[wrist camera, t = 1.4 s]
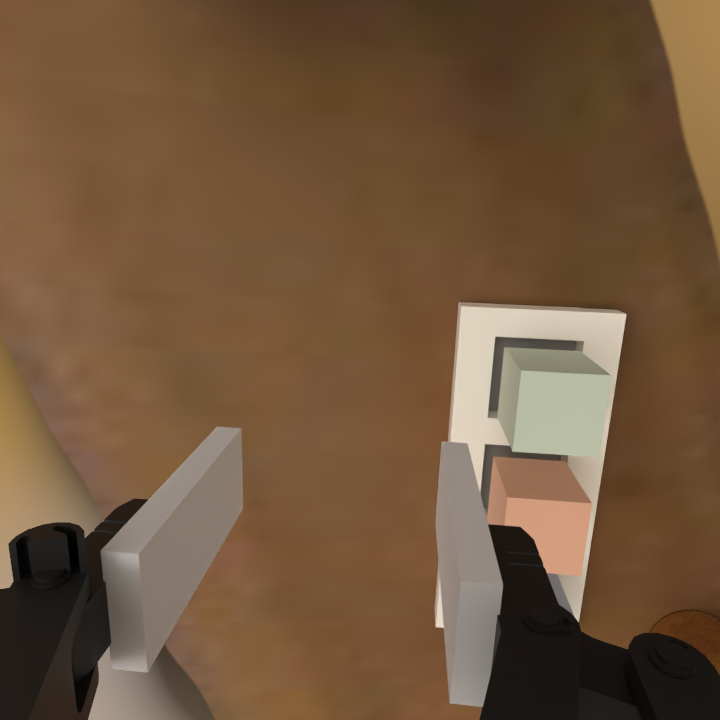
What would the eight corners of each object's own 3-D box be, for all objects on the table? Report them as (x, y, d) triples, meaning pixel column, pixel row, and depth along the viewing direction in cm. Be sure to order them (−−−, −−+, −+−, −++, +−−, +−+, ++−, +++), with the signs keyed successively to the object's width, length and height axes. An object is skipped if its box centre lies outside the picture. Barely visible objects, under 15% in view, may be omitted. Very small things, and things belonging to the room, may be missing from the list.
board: (458, 302, 40) (461, 306, 38) (615, 309, 39) (626, 313, 37) (434, 609, 46) (435, 626, 44) (569, 621, 45) (576, 639, 43)
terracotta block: (493, 456, 39) (507, 497, 34) (564, 461, 39) (592, 503, 33) (486, 519, 41) (499, 569, 35) (556, 524, 40) (580, 575, 34)
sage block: (504, 347, 37) (521, 370, 32) (580, 351, 37) (611, 375, 31) (497, 416, 39) (512, 451, 33) (570, 421, 38) (598, 457, 32)
